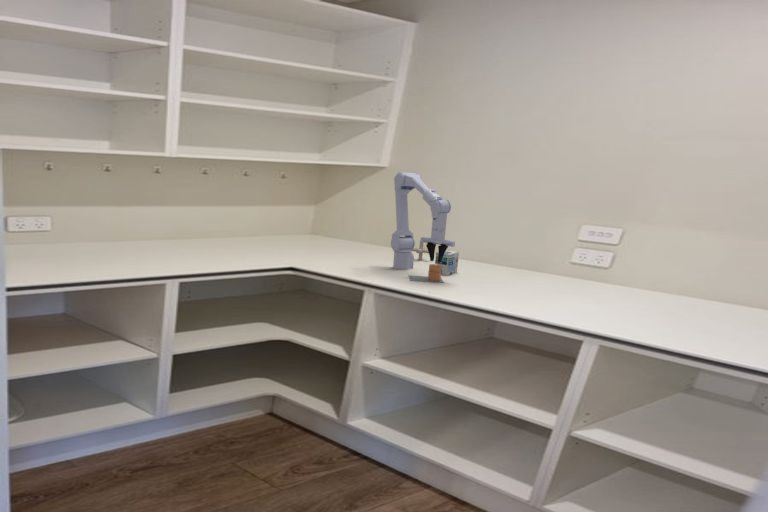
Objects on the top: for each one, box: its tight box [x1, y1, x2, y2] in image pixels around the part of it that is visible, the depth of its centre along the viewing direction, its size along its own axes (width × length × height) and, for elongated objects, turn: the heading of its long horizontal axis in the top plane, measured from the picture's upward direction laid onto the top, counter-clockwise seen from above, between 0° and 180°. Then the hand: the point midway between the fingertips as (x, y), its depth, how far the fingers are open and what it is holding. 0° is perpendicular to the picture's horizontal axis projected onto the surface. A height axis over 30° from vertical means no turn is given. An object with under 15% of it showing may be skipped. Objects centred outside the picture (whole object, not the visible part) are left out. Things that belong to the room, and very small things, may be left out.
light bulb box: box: [434, 249, 460, 277], centre depth 233 cm, size 11×7×11 cm, turn 148°
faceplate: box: [408, 274, 445, 284], centre depth 218 cm, size 14×10×4 cm
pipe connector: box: [412, 239, 429, 261], centre depth 264 cm, size 10×10×10 cm
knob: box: [427, 263, 442, 281], centre depth 218 cm, size 5×5×6 cm
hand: (435, 261), depth 217 cm, fingers open, 3 cm apart
